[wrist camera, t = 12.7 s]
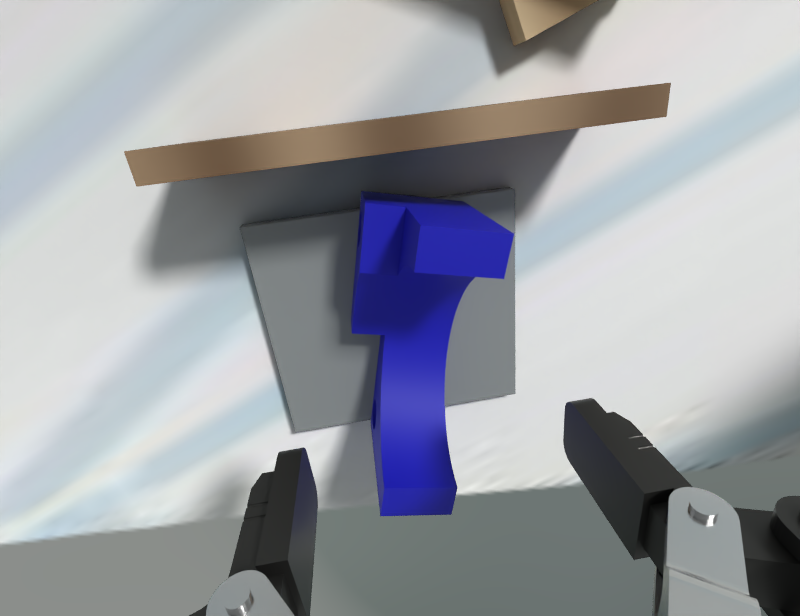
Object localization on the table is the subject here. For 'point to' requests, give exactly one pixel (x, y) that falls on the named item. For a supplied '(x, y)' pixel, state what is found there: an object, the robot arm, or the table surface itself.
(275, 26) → the table surface
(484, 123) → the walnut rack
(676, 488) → the robot arm
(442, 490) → the blue curved piece
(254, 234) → the rubber mat
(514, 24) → the lower offcut
